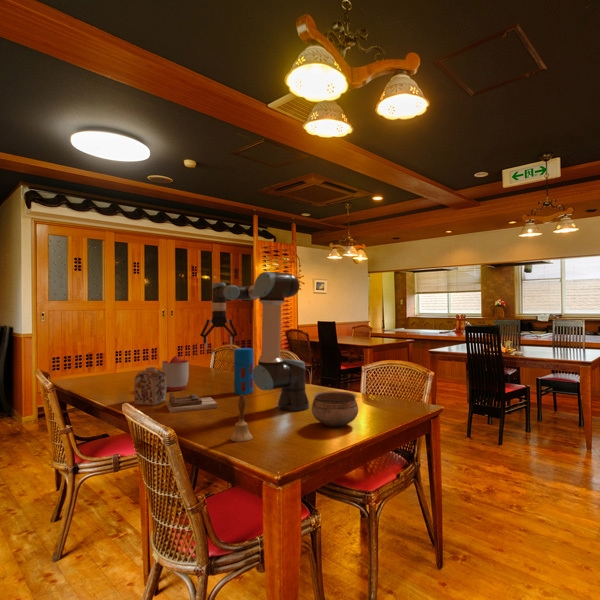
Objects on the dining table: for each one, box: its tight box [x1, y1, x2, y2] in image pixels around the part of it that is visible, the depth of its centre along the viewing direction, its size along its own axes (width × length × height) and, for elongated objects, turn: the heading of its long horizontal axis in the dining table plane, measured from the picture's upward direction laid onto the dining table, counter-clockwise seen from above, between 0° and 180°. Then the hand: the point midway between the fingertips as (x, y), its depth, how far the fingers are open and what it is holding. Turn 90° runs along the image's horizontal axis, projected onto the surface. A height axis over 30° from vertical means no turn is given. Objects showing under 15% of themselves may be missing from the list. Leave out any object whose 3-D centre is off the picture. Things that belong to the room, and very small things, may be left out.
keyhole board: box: [166, 393, 218, 414], centre depth 195 cm, size 16×22×5 cm
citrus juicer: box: [161, 355, 190, 392], centre depth 239 cm, size 16×17×20 cm
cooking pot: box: [311, 390, 359, 429], centre depth 162 cm, size 25×19×12 cm
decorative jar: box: [133, 366, 167, 406], centre depth 205 cm, size 12×12×18 cm
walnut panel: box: [168, 392, 202, 407], centre depth 194 cm, size 12×14×4 cm
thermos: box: [233, 347, 254, 396], centre depth 227 cm, size 11×11×25 cm
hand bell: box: [229, 395, 254, 443], centre depth 147 cm, size 8×8×16 cm
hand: (219, 348), depth 220 cm, fingers open, 13 cm apart
